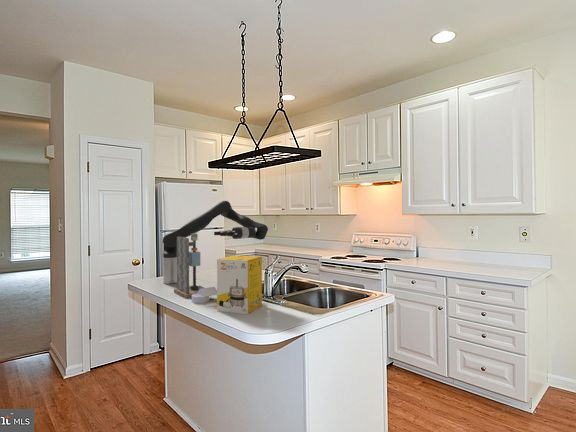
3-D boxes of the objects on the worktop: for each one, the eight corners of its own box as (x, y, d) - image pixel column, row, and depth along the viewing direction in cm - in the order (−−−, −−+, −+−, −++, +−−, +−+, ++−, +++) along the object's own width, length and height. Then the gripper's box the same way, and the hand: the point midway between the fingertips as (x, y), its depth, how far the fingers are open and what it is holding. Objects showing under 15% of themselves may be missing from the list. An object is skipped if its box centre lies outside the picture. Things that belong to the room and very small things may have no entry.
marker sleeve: (188, 265, 209) (188, 251, 209) (196, 264, 212) (196, 251, 212) (191, 266, 205) (191, 252, 205) (200, 265, 208) (200, 251, 208)
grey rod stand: (174, 292, 210) (173, 233, 210) (199, 288, 220) (199, 232, 219) (185, 298, 196) (185, 235, 195) (212, 294, 206) (212, 233, 205)
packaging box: (217, 311, 171) (216, 259, 171) (233, 302, 187) (233, 255, 186) (247, 314, 166) (247, 260, 166) (261, 305, 181) (261, 256, 181)
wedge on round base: (210, 297, 199) (188, 301, 191) (210, 285, 199) (188, 288, 191) (218, 300, 192) (196, 304, 184) (218, 287, 192) (196, 291, 184)
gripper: (234, 226, 236) (212, 227, 226) (245, 227, 224) (222, 228, 215) (234, 238, 236) (212, 239, 226) (245, 239, 224) (222, 240, 215)
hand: (217, 233), depth 220 cm, fingers open, 8 cm apart
